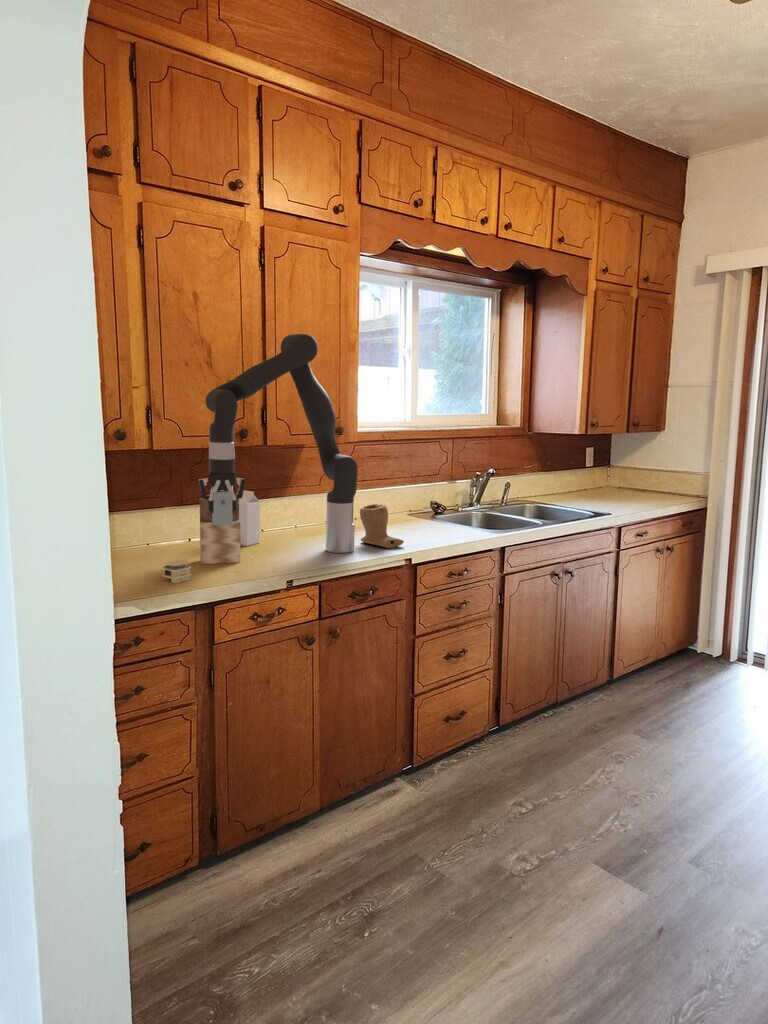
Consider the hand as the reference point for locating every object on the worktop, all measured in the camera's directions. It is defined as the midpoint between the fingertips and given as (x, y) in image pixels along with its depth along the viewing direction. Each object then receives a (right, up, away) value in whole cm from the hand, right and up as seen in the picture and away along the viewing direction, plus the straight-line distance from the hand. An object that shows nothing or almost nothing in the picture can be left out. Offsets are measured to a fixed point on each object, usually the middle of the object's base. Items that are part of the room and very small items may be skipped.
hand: (222, 512), depth 207 cm
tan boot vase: (+47, -12, +40) cm, 63 cm away
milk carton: (0, -11, +35) cm, 37 cm away
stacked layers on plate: (-10, -20, -12) cm, 26 cm away
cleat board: (-3, -16, +9) cm, 18 cm away
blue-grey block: (-1, -3, +3) cm, 4 cm away
